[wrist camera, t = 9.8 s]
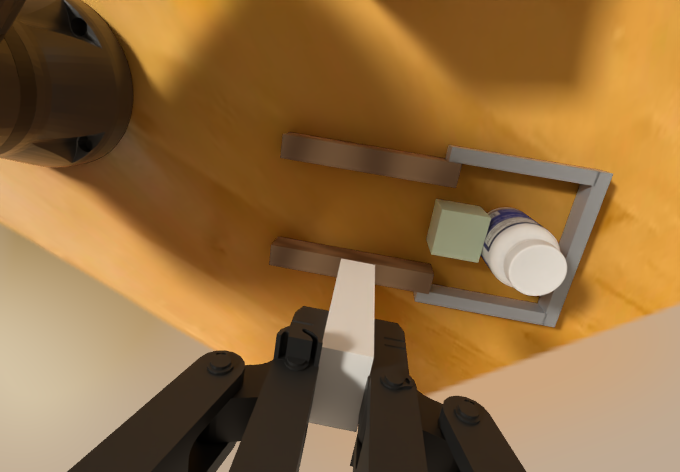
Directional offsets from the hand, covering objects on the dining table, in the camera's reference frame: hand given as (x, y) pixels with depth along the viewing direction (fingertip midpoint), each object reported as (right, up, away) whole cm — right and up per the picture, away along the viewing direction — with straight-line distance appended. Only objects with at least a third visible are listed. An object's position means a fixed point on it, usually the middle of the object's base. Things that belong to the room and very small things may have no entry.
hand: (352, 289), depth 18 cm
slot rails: (+1, +5, +20) cm, 20 cm away
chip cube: (+10, +4, +19) cm, 22 cm away
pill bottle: (+14, +3, +19) cm, 24 cm away
